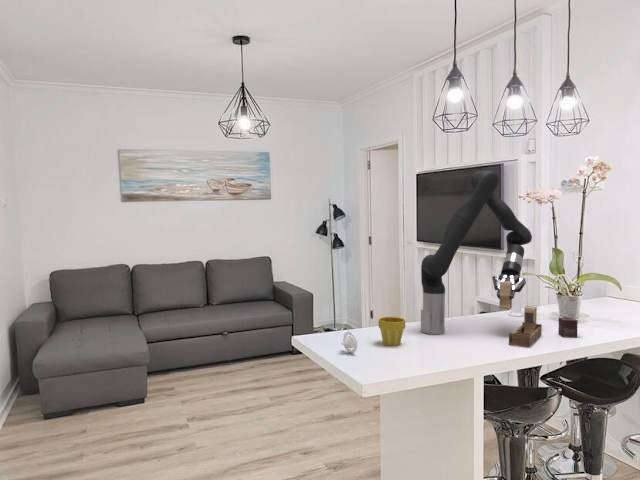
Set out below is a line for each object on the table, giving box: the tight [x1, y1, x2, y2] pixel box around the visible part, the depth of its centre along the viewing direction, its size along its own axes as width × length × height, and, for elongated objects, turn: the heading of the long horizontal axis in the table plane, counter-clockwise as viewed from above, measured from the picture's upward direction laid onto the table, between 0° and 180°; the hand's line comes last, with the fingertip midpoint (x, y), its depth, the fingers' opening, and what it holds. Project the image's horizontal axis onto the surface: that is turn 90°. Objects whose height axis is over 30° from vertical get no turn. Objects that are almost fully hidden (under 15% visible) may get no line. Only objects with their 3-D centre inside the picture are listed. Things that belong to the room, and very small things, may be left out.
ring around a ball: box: [340, 330, 358, 354], centre depth 187 cm, size 8×6×8 cm
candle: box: [508, 271, 524, 318], centre depth 255 cm, size 7×7×25 cm
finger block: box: [498, 281, 512, 310], centre depth 212 cm, size 4×4×11 cm
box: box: [557, 316, 578, 339], centre depth 214 cm, size 6×6×7 cm
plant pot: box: [378, 316, 406, 347], centre depth 201 cm, size 10×10×10 cm
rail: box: [508, 305, 543, 349], centre depth 207 cm, size 24×8×12 cm, turn 147°
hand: (504, 297), depth 210 cm, fingers closed on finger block, 4 cm apart
